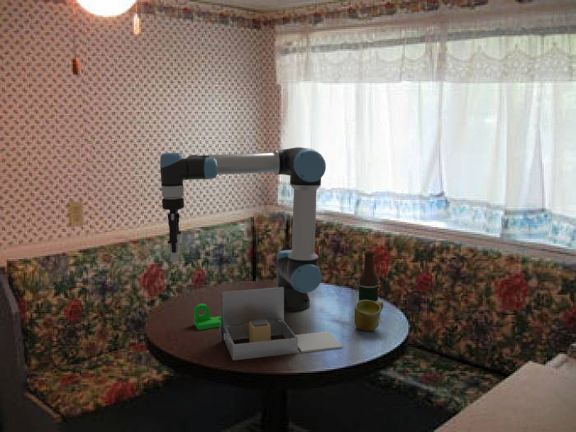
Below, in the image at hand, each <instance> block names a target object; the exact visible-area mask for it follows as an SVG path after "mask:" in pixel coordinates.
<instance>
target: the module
mask: <svg viewBox="0 0 576 432" xmlns="http://www.w3.org/2000/svg"><path fill="white" fill-rule="evenodd" d="M271 337H272V336H271V326H270V324H269V323H268V322H267V320H265V319H262V320H252V321H251V322H249V338H248V340H249V342H248V343H252V342H261V341H270V340H272V338H271Z"/></svg>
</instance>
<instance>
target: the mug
mask: <svg viewBox="0 0 576 432" xmlns="http://www.w3.org/2000/svg"><path fill="white" fill-rule="evenodd" d="M383 309H384V302H383V301H382V300H380V299H378V301H376V303H375V302H374V301H371V300H361V301H359V300H358V301H357V302H356V303H355V306H354V325H355V327H356V328H358V330H362V331H365V332H373V331H375V330H376V329H378V327H379V323H380V322H379V321H380V317H381V313H382V310H383Z"/></svg>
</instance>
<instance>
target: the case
mask: <svg viewBox="0 0 576 432" xmlns="http://www.w3.org/2000/svg"><path fill="white" fill-rule="evenodd" d="M219 308H220V309H219V311H220V315H219V316H220V318H221V327H218V329H219V333H220V342H221V343H225V345H226V348H227V350H228V352H229V354H230V357H231V359H232V361H239V360H248V359H256V358H265V357H274V356H283V355H292V354H298V353H299V348H298V338H297V337H296V335H297V334H295V333H294V331H293V330H292V329H291V328H290V326H289V325H288V324H287V322H286V321H285V311H284V287H277V286H276V287H265V288H257V289H256V288H255V289H253V288H252V289H247V290H246V289H244V290H241V289H240V290H233V291H231V290H229V291H222V301H220V302H219ZM262 319H265V320H267V322H268V323H269V324H270V326H271V337H272V336H273V337H274V336H282V337H284V338H282V339H271V340H270V341H261V342H252V343H249V342H244V343H234V341H236V340H243V339H244V340H245V339H249V322H251V321H252V320H262Z"/></svg>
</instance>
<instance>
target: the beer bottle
mask: <svg viewBox="0 0 576 432" xmlns="http://www.w3.org/2000/svg"><path fill="white" fill-rule="evenodd" d="M374 255H375V253H374V251H372V250H366V251H364V262H363V263H364V266H363V270H362V272H361V274H360V276H359V278H358V301H361V300H371V301H374V302H375V303H376V301H378V300H379V279H378V276H377V275H376V273H375V270H374V267H375V265H374Z"/></svg>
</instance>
